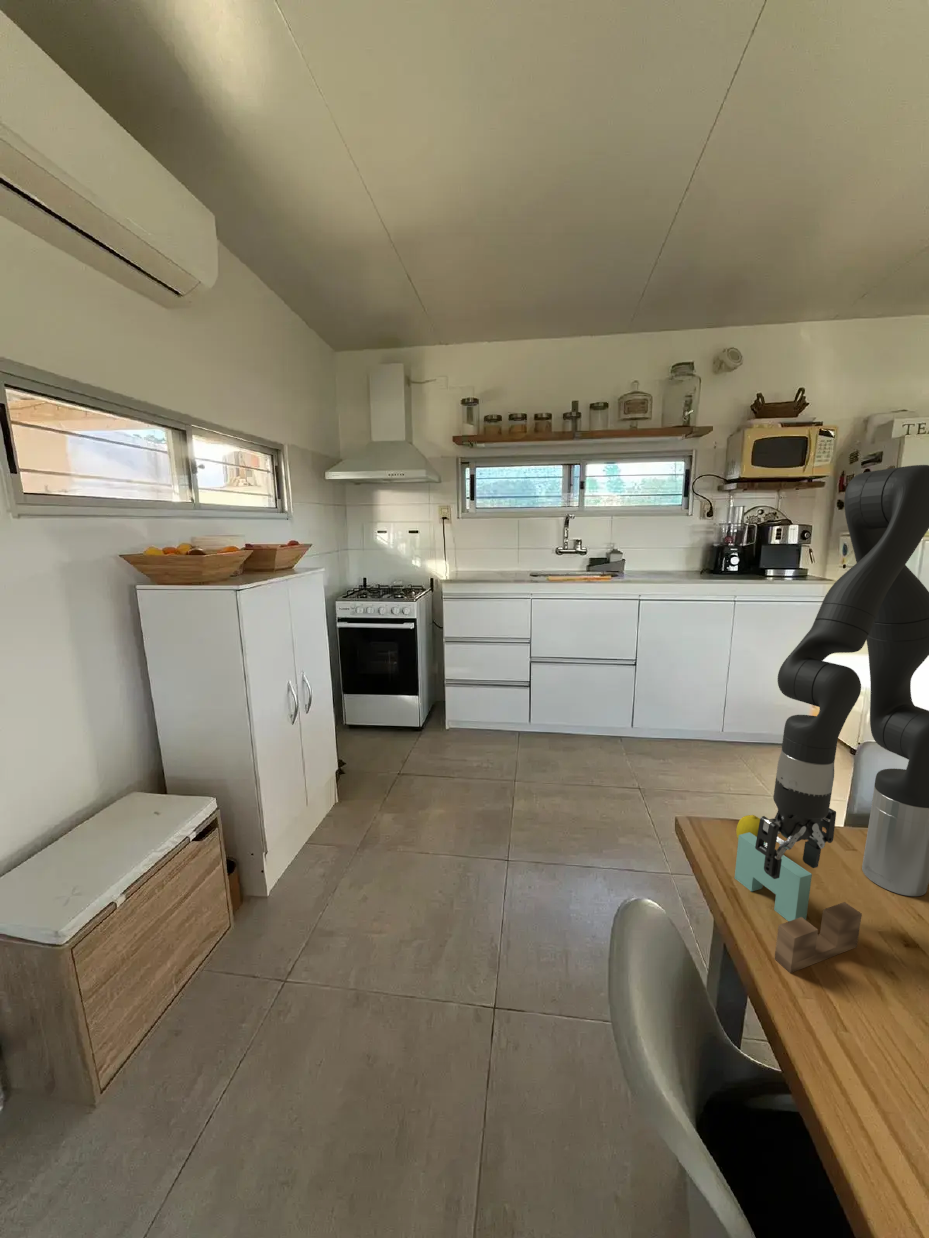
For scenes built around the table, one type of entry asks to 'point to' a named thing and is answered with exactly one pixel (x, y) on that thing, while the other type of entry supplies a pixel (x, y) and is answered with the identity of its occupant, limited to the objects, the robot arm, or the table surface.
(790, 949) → the brown wooden u-shaped block
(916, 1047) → the table surface
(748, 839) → the teal arch block
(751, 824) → the lemon
